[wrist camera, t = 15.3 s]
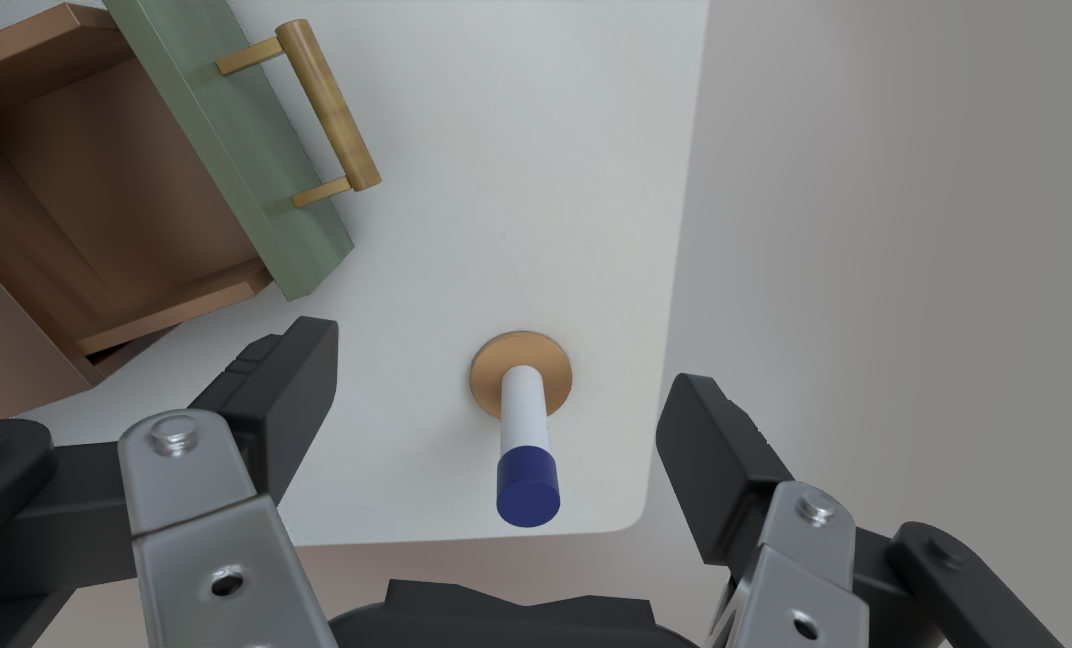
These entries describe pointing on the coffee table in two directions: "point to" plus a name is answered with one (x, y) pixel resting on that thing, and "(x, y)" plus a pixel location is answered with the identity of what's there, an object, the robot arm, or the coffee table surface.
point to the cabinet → (48, 353)
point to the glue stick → (525, 452)
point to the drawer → (163, 166)
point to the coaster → (514, 353)
